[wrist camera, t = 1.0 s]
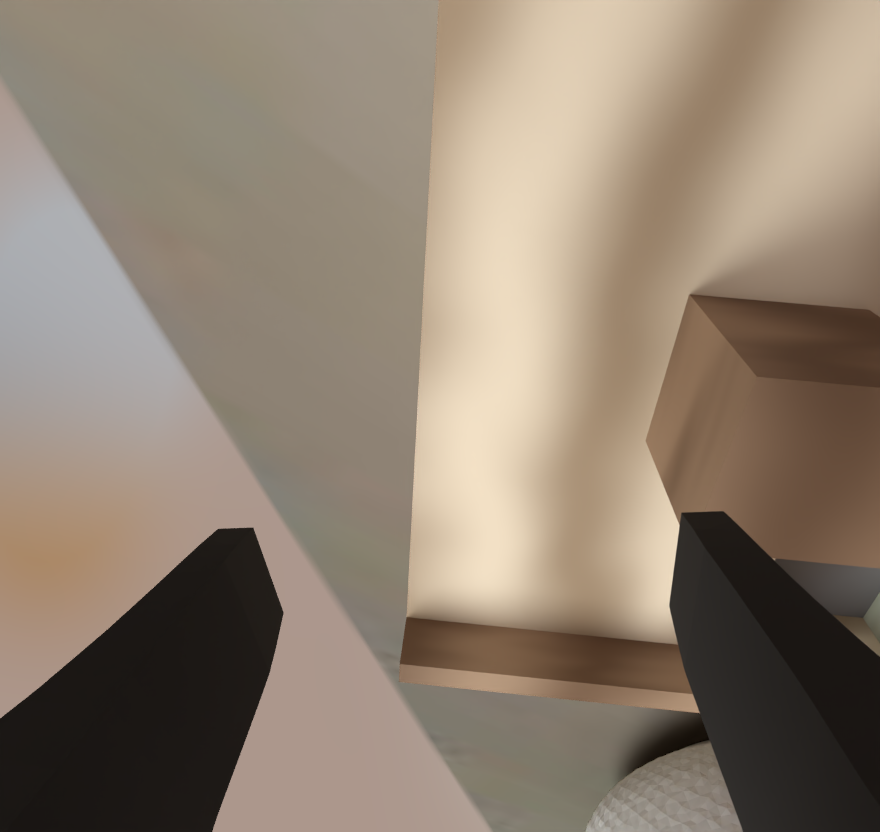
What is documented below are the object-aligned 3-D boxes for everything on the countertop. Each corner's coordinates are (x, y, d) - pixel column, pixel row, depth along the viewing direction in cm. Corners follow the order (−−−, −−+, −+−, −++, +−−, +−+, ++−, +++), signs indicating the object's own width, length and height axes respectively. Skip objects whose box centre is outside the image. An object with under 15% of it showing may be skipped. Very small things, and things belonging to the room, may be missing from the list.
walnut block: (869, 310, 15) (999, 398, 11) (800, 455, 17) (888, 569, 13) (689, 294, 15) (757, 376, 11) (645, 440, 17) (689, 549, 14)
